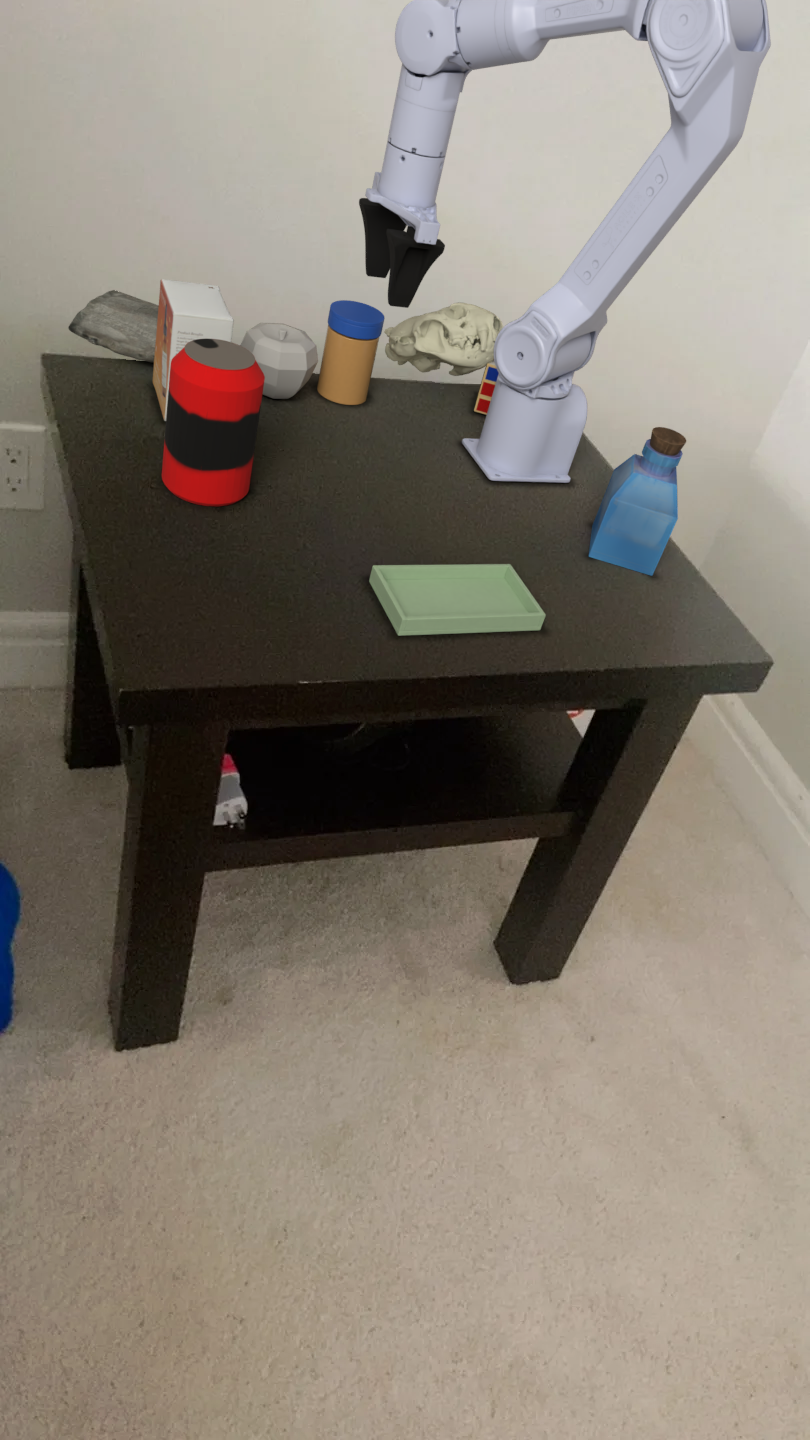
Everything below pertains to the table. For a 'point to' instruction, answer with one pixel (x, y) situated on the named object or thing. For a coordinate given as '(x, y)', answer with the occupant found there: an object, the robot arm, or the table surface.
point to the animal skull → (446, 339)
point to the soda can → (211, 422)
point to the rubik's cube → (486, 388)
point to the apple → (282, 357)
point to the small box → (186, 325)
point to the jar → (346, 368)
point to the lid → (355, 319)
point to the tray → (455, 599)
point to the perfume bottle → (640, 505)
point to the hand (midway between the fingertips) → (386, 290)
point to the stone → (119, 325)
